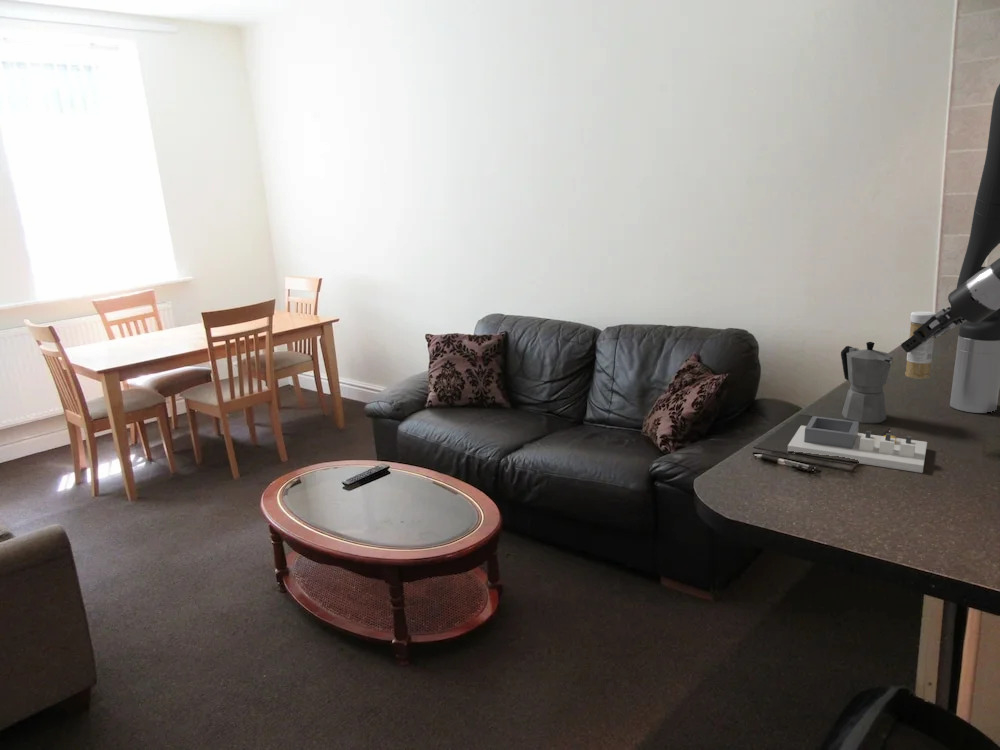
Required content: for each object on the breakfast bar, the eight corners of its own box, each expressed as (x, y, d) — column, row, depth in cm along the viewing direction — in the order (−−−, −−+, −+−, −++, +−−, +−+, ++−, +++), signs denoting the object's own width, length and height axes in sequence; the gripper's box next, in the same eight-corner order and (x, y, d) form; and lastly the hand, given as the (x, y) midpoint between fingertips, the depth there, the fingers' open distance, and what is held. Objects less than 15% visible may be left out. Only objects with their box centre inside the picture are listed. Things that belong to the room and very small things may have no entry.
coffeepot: (902, 423, 157) (911, 345, 152) (866, 428, 155) (874, 349, 151) (854, 404, 172) (860, 333, 167) (820, 408, 170) (826, 336, 165)
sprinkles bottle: (915, 372, 147) (922, 309, 144) (935, 377, 143) (942, 312, 139) (899, 375, 145) (905, 312, 142) (918, 380, 141) (925, 315, 138)
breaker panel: (800, 431, 155) (802, 409, 154) (926, 448, 142) (929, 425, 141) (787, 452, 144) (788, 428, 142) (922, 472, 131) (925, 447, 130)
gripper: (984, 274, 137) (913, 327, 150) (954, 282, 129) (881, 338, 141) (1012, 303, 134) (937, 355, 147) (983, 314, 126) (906, 367, 139)
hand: (910, 346), depth 144 cm, fingers closed on sprinkles bottle, 4 cm apart
